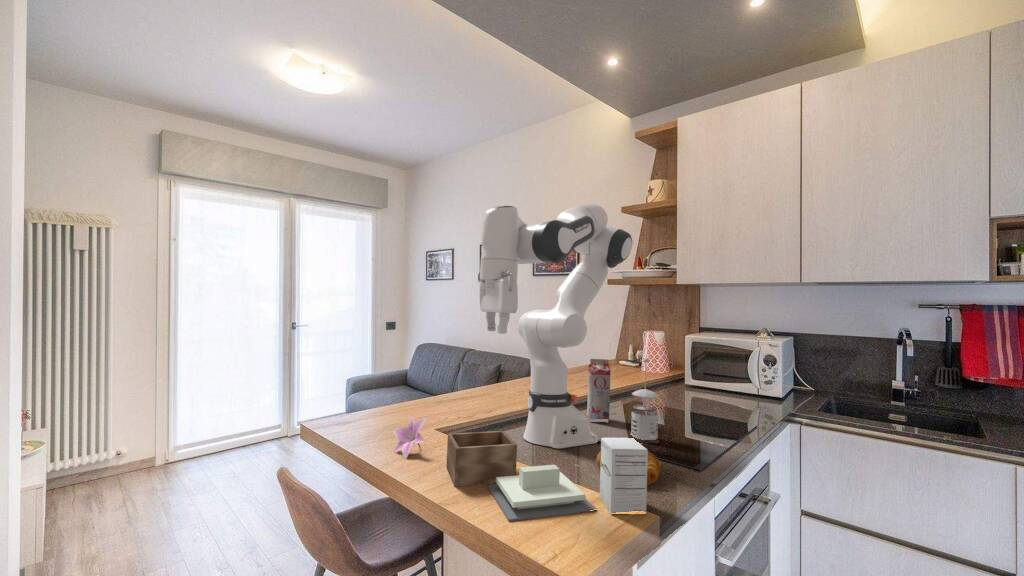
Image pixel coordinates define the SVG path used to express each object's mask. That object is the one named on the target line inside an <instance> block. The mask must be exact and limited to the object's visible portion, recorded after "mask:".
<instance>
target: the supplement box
mask: <svg viewBox="0 0 1024 576" xmlns="http://www.w3.org/2000/svg"><path fill="white" fill-rule="evenodd" d="M600 439H601V441H600V451H601V467H600V468H599V469H600V473H599V478H600V479H599V499H600V498H601V499H602V500H603V501H602V500H601V499H600V500H601V501H602V502H604V503H605V504H604V503H603V504H604V506H605V505H606V506H607V507H606V506H605V507H606V509H607V508H608V509H609V510H608V509H607V510H608V512H609V511H610V512H611V513H616V512H629V511H630V512H631V511H644V512H646V513H647V496H648V495H647V491H648V485H647V461H648V451H649V450H648V448H646V447H645V446H643V445H642V443H639V442H637V441H636V440H635V439H634V438H628V437H601V438H600ZM610 512H609V513H610Z"/></svg>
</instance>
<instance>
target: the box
mask: <svg viewBox="0 0 1024 576" xmlns="http://www.w3.org/2000/svg"><path fill="white" fill-rule="evenodd" d="M446 445H447V447H446V448H447V449H446V466H445V468H446V471H447V472H448V476H449V478H450V479H451V483H452V485H453V487H461V486H472V485H473V486H474V485H484V484H495V483H496V477H504V476H515V475H517V461H518V460H517V458H518V455H517V454H518V444H517V443H516V442H515V441H514V440H513V439H512V438H511V437H510V436H509V435H508V434H507V433H506V432H505V431H504V430H496V431H495V430H493V431H477V432H473V431H471V432H459V433H458V432H457V433H447V444H446ZM496 484H497V483H496Z"/></svg>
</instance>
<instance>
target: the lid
mask: <svg viewBox="0 0 1024 576" xmlns="http://www.w3.org/2000/svg"><path fill="white" fill-rule="evenodd" d="M518 469H519V470H518V472H519V473H518V475H517V474H516V475H515V476H504V477H496V485H498V486H499V487H500V489H501V490H502V492H503V493H504V495H505V496H506V498H507V499H508V501H509V502H510V504H511V505H512V507H513V508H516V507H517V508H518V510H519V509H527V508H536V507H545V506H554V505H563V504H571V503H574V501H579V500H585V498H586V494H585V493H584V492H583V491H582V490H581V489H580V488H579V487H578V486H577V485H576V484H575V483H574V482H573V481H571V480H570V479H569V478H568V477H567V476H566V475H565V474H564V473H563V472H561V471H560V470H561V469H560V468H559V466H557V465H556V464H546V465H545V464H543V465H534V466H523V467H522V466H521V467H519V468H518Z"/></svg>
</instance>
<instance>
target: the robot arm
mask: <svg viewBox="0 0 1024 576" xmlns="http://www.w3.org/2000/svg"><path fill="white" fill-rule="evenodd" d="M608 219H609V218H608V215H607V212H606V210H605V209H604V208H603V207H602V206H600V205H599V204H598V205H597V204H594V203H593V204H592V203H587V204H586V203H585V204H579V205H575V206H572V207H569V208H567V209H565V210H564V211H562V212H561V213H559V214H558V215H557V217H556V219H553V220H549V221H548V220H547V221H546V222H540V223H533V224H528V223H526V222H524V221H523V220H522V218H521V217H520V216H519V211H518V208H517V207H516V206H513V205H500V206H499V205H498V206H494V207H490V208H489V209H487V210H486V211H485V213H484V215H483V220H482V227H481V245H482V253H481V257H480V268H479V272H478V274H477V282H478V283H480V284H479V307H480V311H481V312H482V313H485V319H486V330H487V331H488V332H495V331H496V329H497V333H498V334H501V335H504V334H505V335H506V334H507V332H508V325H509V322H510V318H511V315H510V314H516V313H517V311H518V307H519V306H518V303H519V298H518V297H519V294H518V291H519V289H518V267H519V265H529V264H531V265H532V264H545V263H546V264H547V263H548V264H560V263H562V262H564V261H566V259H567V258H568V257H569V255H570V254H571V253H572V252H574V253H575V254H581V255H582V256H584V258H583V260H581V261H580V262H579V263H578V264H576V266H575V267H574V268H573V269H572V270H571V271H570V273H569V274H568V275H567V276H566V278H565V279H564V280H563V281H562V283H561V284H560V285H559V287H558V289H557V290H556V293H555V294H556V296H555V297H556V298H557V303H556V305H555V306H554V307H552V308H551V309H533V310H529V311H527V312H524V313H523V314H522V315H521V316H520V318H519V320H518V323H517V330H518V333H519V336H520V337H521V338H522V339H523V341H524V343H525V346H526V349H527V353H528V357H529V363H530V364H529V365H530V386H529V387H530V389H529V390H528V397H527V399H528V400H527V406H528V415H527V420H526V426H525V429H524V433H523V436H522V438H523V439H524V440H525V441H527V442H528V443H531V444H535V445H539V446H544V447H545V446H546V447H550V448H554V449H566V448H572V447H573V448H574V447H579V446H586V445H591V444H597V442H598V443H599V438H598V436H597V435H596V434H595V433H593V432H592V431H591V424H590V421H589V420H588V418H587V416H586V415H585V414H583V413H582V412H581V411H580V410H579V409H578V408H576V407H575V406H574V405H573V404H572V402H573V403H577V402H578V401H579V397H578V396H577V395H575V394H571V393H570V392H567V391H568V390H567V389H568V387H567V386H568V367H567V365H566V363H565V361H564V360H563V359H562V357H561V356H560V352H559V349H558V348H562V349H563V348H564V349H565V348H571V347H572V348H573V347H577V346H580V345H581V344H582V343H583V342H584V340H585V339H586V336H587V332H588V331H587V330H588V329H587V328H588V327H587V326H588V325H587V323H586V321H585V314H586V311H587V310H588V308H589V307H590V305H591V304H592V302H593V301H594V299H595V298H596V296H597V295H598V294H599V292H600V290H601V289H602V287H603V285H604V284H605V281H606V279H607V277H608V274H609V269H613V268H615V267H617V266H618V265H620V264H622V263H623V262H624V261H625V260H627V259H628V257H629V256H630V253H631V251H632V248H633V238H632V236H631V235H632V234H630V233H629V232H627V231H626V230H624V229H621V228H620V229H619V228H615V227H613V226H609V225H608ZM496 313H498V318H499V319H498V325H496V315H497V314H496ZM496 327H497V328H496Z"/></svg>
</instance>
